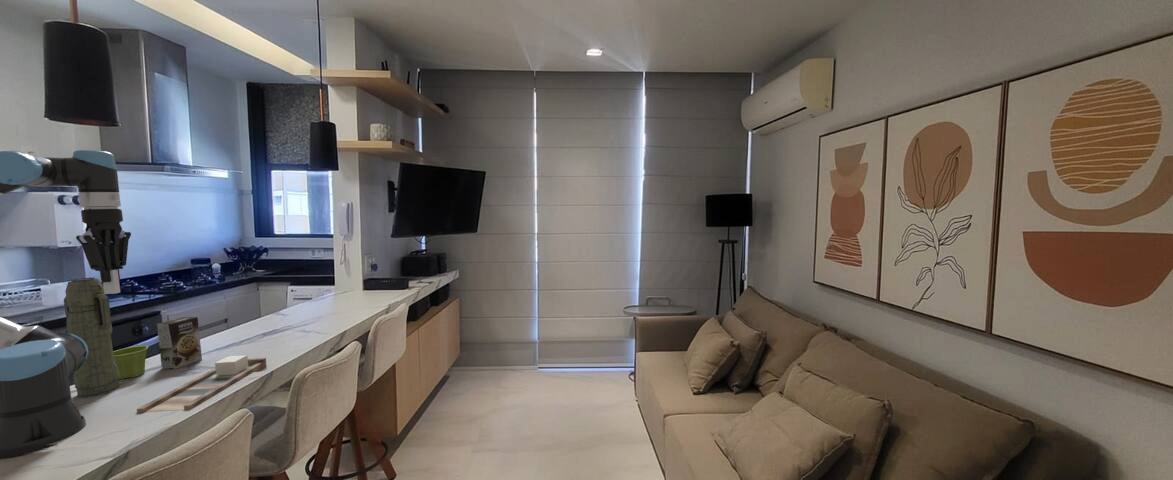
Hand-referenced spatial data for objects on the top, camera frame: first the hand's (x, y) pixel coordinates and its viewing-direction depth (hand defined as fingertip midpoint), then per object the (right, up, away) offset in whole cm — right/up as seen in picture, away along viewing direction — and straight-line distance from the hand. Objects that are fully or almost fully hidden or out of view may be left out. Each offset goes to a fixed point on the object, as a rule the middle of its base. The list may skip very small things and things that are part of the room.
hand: (112, 293), depth 121 cm
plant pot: (-21, -31, +25) cm, 45 cm away
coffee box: (-13, -30, +35) cm, 47 cm away
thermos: (-18, -32, +13) cm, 39 cm away
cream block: (+15, -29, +23) cm, 40 cm away
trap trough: (+16, -31, +13) cm, 37 cm away
